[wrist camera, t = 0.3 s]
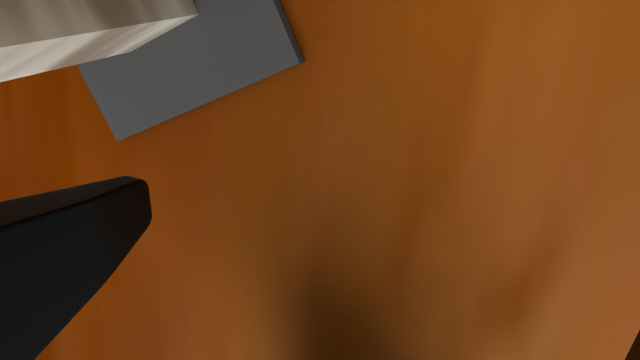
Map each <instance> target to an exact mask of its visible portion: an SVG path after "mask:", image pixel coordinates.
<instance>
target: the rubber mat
mask: <svg viewBox="0 0 640 360" xmlns="http://www.w3.org/2000/svg"><path fill="white" fill-rule="evenodd" d="M193 3H194V5H195V7H196V9H197V11H198V15H197V16H195V17H193V18H191V19H189V20H187V21H186V22H184V23H182V24H180V25H178V26H177V27H175V28H173V29H171V30H169V31H167V32H166V33H164V34H162V35H160V36H158V37H157V38H155V39H153V40H151V41H149V42H147V43H146V44H144V45H142V46H140V47H138V48H137V49H135V50H133V51H131V52H128V53H124V54H119V55H115V56H111V57H106V58H102V59H98V60H93V61H89V62H85V63H80V64H77V66H78V68H79V70H80V72H81V74H82V75H83V77H84V79H85V81H86V83H87V85H88V87H89V89H90V91H91V93H92V95H93V97H94V99H95V100H96V102H97V104H98V106H99V108H100V110H101V112H102V114H103V116H104V118H105V120H106V122H107V123H108V125H109V127H110V129H111V131H112V133H113V135H114V137H115V139H116V141H117V142H118V141H120V140H122V139H125V138H127V137H129V136H132V135H134V134H136V133H139V132H141V131H143V130H146V129H148V128H150V127H152V126H155V125H157V124H159V123H162V122H164V121H166V120H169V119H171V118H173V117H176V116H178V115H180V114H183V113H185V112H187V111H190V110H192V109H194V108H197V107H199V106H201V105H204V104H206V103H208V102H211V101H213V100H215V99H218V98H220V97H222V96H225V95H227V94H229V93H232V92H234V91H236V90H239V89H241V88H243V87H246V86H248V85H250V84H252V83H255V82H257V81H259V80H262V79H264V78H266V77H269V76H271V75H273V74H276V73H278V72H280V71H283V70H285V69H287V68H290V67H292V66H294V65H297V64H299V63H301V62H304V61H305V60H304V58H303V56H302V53H301V51H300V48H299V46H298V44H297V41H296V39H295V36H294V34H293V31H292V29H291V27H290V24H289V22H288V19H287V17H286V15H285V12H284V10H283V7H282V5H281V3H280V0H193Z"/></svg>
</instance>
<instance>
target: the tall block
mask: <svg viewBox="0 0 640 360" xmlns="http://www.w3.org/2000/svg"><path fill="white" fill-rule="evenodd" d="M197 15H198V11H197V9H196V7H195V5H194V3H193V0H0V82H3V81H7V80H11V79H16V78H20V77H24V76H29V75H33V74H37V73H42V72H46V71H50V70H55V69H59V68H63V67H68V66H72V65H76V64H80V63H85V62H89V61H93V60H98V59H102V58H106V57H111V56H115V55H119V54H124V53H128V52H131V51H133V50H135V49H137V48H138V47H140V46H142V45H144V44H146V43H147V42H149V41H151V40H153V39H155V38H157V37H158V36H160V35H162V34H164V33H166V32H167V31H169V30H171V29H173V28H175V27H177V26H178V25H180V24H182V23H184V22H186V21H187V20H189V19H191V18H193V17H195V16H197Z"/></svg>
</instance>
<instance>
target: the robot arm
mask: <svg viewBox="0 0 640 360" xmlns="http://www.w3.org/2000/svg"><path fill="white" fill-rule="evenodd" d="M151 218H152V211H151V203H150V195H149V188H148V185H147V183H146V182H145V181H144V180H142V179H139V178H135V177H132V176H122V177H117V178H112V179H107V180H103V181H98V182H93V183H88V184H83V185H78V186H74V187H69V188H64V189H59V190H54V191H50V192H45V193H40V194H35V195H30V196H25V197H21V198H16V199H11V200H6V201H1V202H0V360H34V359H35V358H36V357H37V356H38V355H39V354H40V353H41V352H42V351H43V350H44V349H45V348H46V346H47V345H48V344H49V343H50V342H51V341H52V340H53V339H54V338H55V337H56V336H57V335H58V333H59V332H60V331H61V330H62V329H63V328H64V327H65V326H66V325H67V324H68V323H69V322H70V321H71V319H72V318H73V317H74V316H75V315H76V314H77V313H78V312H79V311H80V310H81V309H82V308H83V307H84V305H85V304H86V303H87V302H88V301H89V300H90V299H91V298H92V297H93V296H94V295H95V294H96V292H97V291H98V290H99V289H100V288H101V287H102V286H103V285H104V283H105V282H106V281H107V280H108V279H109V277H110V276H111V275H112V274H113V272H114V271H115V270H116V268H117V267H118V266H119V264H120V263H121V262H122V261H123V259H124V258H125V257H126V255H127V254H128V253H129V251H130V250H131V249H132V247H133V246H134V245H135V243H136V242H137V241H138V239H139V238H140V237H141V236H142V234H143V233H144V232H145V230H146V229H147V228H148V226H149V224H150V222H151ZM625 360H640V330H639V332H638V334H637V336H636V338H635V340H634V342H633V344H632V346H631V348H630V350H629V352H628V354H627V356H626V358H625Z"/></svg>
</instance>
